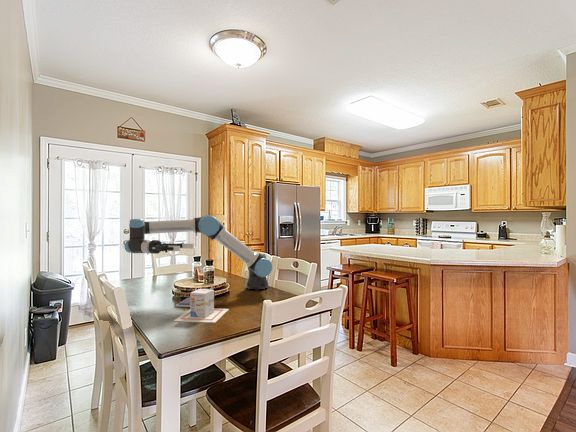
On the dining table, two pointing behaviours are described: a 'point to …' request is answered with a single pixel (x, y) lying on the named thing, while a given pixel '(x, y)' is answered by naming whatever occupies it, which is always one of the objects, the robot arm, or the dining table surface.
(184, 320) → the marked sheet
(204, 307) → the ink box
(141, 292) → the dining table surface
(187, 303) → the ink pad
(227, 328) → the dining table surface
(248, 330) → the dining table surface
